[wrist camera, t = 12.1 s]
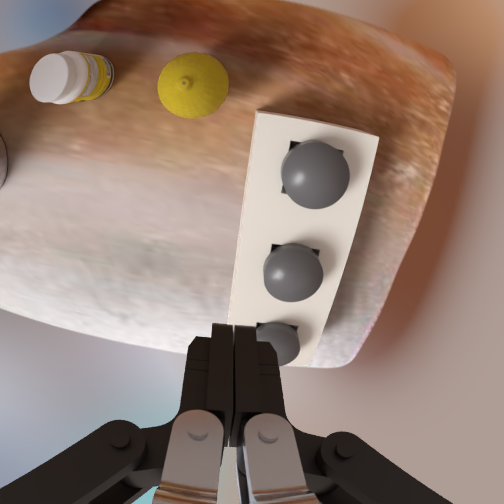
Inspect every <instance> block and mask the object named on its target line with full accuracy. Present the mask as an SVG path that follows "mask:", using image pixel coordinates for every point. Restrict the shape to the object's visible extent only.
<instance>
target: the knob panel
mask: <svg viewBox="0 0 504 504" xmlns="http://www.w3.org/2000/svg"><path fill="white" fill-rule="evenodd" d="M310 140H316V141H321V142H325V143H327V144H329V145H330V146H332V147H334V148H335V149H337V150H338V151H339V152H340V153H341V154H342V155H343V156H344V158H345V159H346V161H347V164H348V166H349V171H350V180H349V184H348V187H347V190H346V192H345V193H344V195H343V196H342V197H341V198H340V199H339V200H338V201H337V202H336V203H335V204H333V205H331V206H329V207H326V208H323V209H308V208H304V207H302V206H300V205H298V204H296V203H295V202H294V201H293V200H291V198H290V197H289V196H288V194H287V193H286V191H285V188H284V186H283V183H282V180H281V165H282V162H283V159H284V157H285V156H286V154H287V153H288V152H289V150H290V149H291V148H292V147H293V146H295V145H297V144H299V143H302V142H305V141H310ZM378 141H379V137H378V136H375V135H372V134H370V133H367V132H364V131H362V130H359V129H355V128H350V127H346V126H342V125H337V124H333V123H328V122H324V121H319V120H314V119H309V118H303V117H298V116H292V115H286V114H280V113H274V112H267V111H260V110H256V114H255V121H254V128H253V135H252V141H251V148H250V155H249V162H248V169H247V177H246V184H245V191H244V198H243V205H242V213H241V220H240V228H239V235H238V243H237V250H236V258H235V266H234V273H233V281H232V289H231V297H230V305H229V313H228V321H227V324H230V325H233V332H234V325H245V326H255V327H256V329H257V322H259V323H284V324H287V325H289V326H291V327H293V328H294V329H295V330H296V332H297V334H298V337H299V343H300V352H299V355H298V356H297V357H296V359H294V360H293V361H292V362H290V363H288V364H286V365H306V366H309V365H310V363H311V360H312V358H313V355H314V353H315V350H316V347H317V345H318V342H319V340H320V337H321V334H322V332H323V329H324V326H325V323H326V321H327V318H328V315H329V312H330V309H331V307H332V304H333V301H334V298H335V295H336V292H337V289H338V286H339V283H340V280H341V277H342V274H343V271H344V268H345V265H346V261H347V258H348V255H349V252H350V248H351V245H352V242H353V238H354V235H355V232H356V228H357V225H358V221H359V218H360V214H361V210H362V207H363V203H364V199H365V195H366V191H367V188H368V184H369V180H370V176H371V172H372V167H373V163H374V159H375V155H376V150H377V146H378ZM293 243H295V244H302V245H305V246H307V247H309V248H311V249H312V250H313V251H314V252H315V253H316V254H317V256H318V258H319V261H320V263H321V266H322V269H323V281H322V284H321V286H320V288H319V289H318V290H317V291H316V293H314V294H313V295H312V296H311V297H309V298H307V299H305V300H302V301H299V302H284V301H280V300H278V299H276V298H274V297H273V296H272V295H271V294H269V292H268V291H267V289H266V287H265V284H264V275H263V266H264V262H265V260H266V258H267V257H268V255H269V254H270V251H271V246H272V244H280V245H286V244H293Z"/></svg>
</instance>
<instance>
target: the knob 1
mask: <svg viewBox="0 0 504 504" xmlns="http://www.w3.org/2000/svg"><path fill="white" fill-rule="evenodd" d="M256 335H257V341H266V342H270V343H271V345H272V346H273V348H274V349H275V350H276V352H277V357H278V364H279V366H283V365H286V364H288V363H290V362H292V361H293V360H294V359H296V357H297V356H298V355H299V352H300V343H299V337H298V334H297V332H296V330H295V329H294V328H293V327H291V326H289V325H287V324H284V323H259V322H257V329H256Z"/></svg>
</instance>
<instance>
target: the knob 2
mask: <svg viewBox="0 0 504 504" xmlns="http://www.w3.org/2000/svg"><path fill="white" fill-rule="evenodd" d="M281 180H282V183H283V186H284V188H285V191H286V193H287V194H288V196H289V197H290V198H291V200H293V201H294V202H295V203H296V204H298V205H300V206H302V207H304V208H308V209H323V208H326V207H329V206H331V205H333V204H335V203H336V202H337V201H338V200H339V199H340V198H341V197H342V196H343V195H344V193H345V192H346V190H347V187H348V184H349V180H350V171H349V166H348V164H347V161H346V159H345V158H344V156H343V155H342V154H341V153H340V152H339V151H338V150H337V149H335V148H334V147H332V146H330V145H329V144H327V143H325V142H321V141H316V140H310V141H305V142H302V143H299V144H297V145H295V146H293V147H292V148H291V149H290V150H289V152H288V153H287V154H286V156H285V157H284V159H283V162H282V165H281Z"/></svg>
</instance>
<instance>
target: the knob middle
mask: <svg viewBox="0 0 504 504" xmlns="http://www.w3.org/2000/svg"><path fill="white" fill-rule="evenodd" d="M263 275H264V284H265V287H266V289H267V291H268V292H269V294H271V295H272V296H273V297H274V298H276V299H278V300H280V301H284V302H299V301H302V300H305V299H307V298H309V297H311V296H312V295H313V294H314V293H316V291H317V290H318V289H319V288H320V286H321V284H322V281H323V269H322V266H321V263H320V261H319V258H318V256H317V254H316V253H315V252H314V251H313V250H312V249H311V248H309V247H307V246H305V245H302V244H295V243H293V244H286V245H280V244H272V246H271V251H270V254H269V255H268V257H267V258H266V260H265V262H264V266H263Z"/></svg>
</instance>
